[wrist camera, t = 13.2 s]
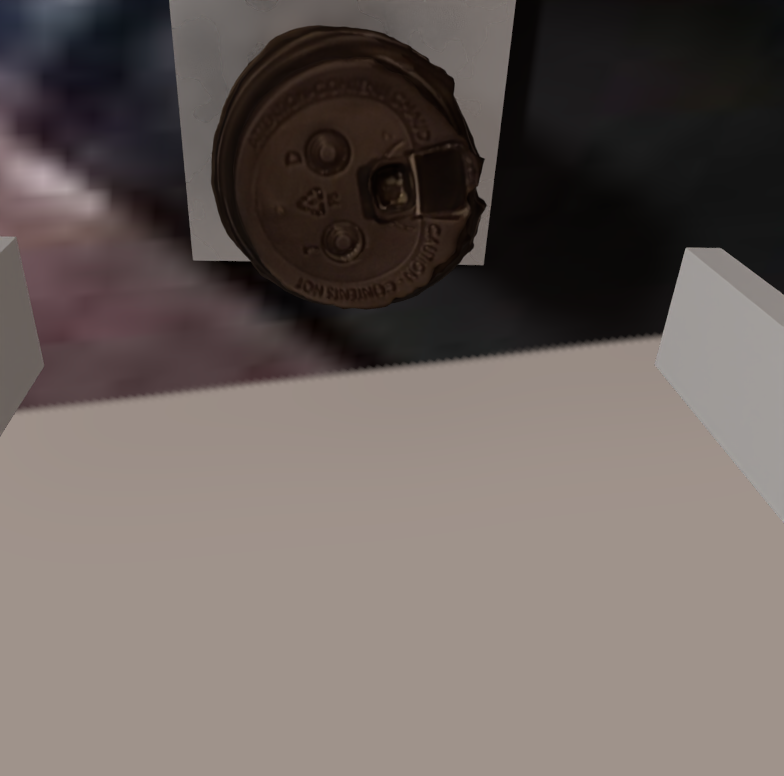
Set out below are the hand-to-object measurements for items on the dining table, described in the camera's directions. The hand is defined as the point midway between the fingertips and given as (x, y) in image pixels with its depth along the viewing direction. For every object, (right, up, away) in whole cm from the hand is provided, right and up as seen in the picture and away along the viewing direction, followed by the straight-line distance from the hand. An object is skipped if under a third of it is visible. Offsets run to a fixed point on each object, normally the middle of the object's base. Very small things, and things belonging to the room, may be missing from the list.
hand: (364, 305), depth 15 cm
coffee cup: (-2, +11, +17) cm, 20 cm away
